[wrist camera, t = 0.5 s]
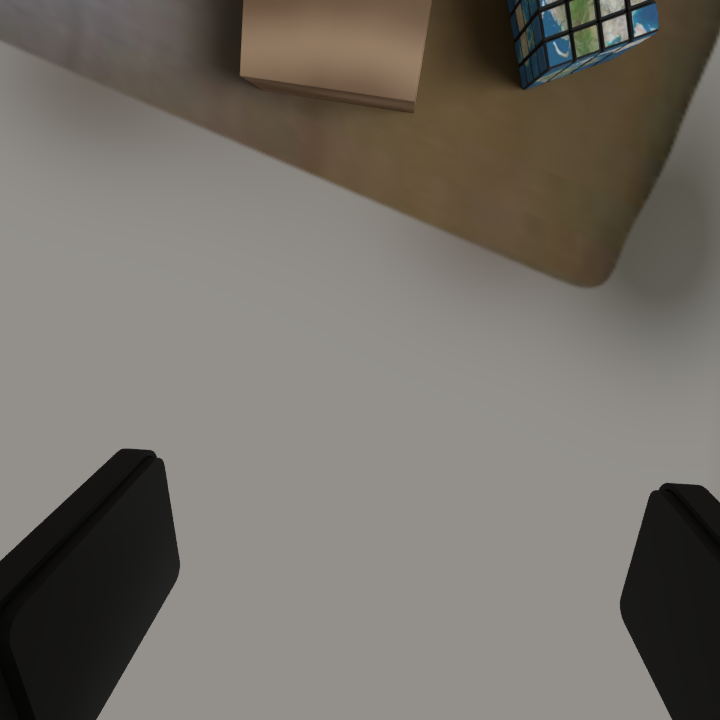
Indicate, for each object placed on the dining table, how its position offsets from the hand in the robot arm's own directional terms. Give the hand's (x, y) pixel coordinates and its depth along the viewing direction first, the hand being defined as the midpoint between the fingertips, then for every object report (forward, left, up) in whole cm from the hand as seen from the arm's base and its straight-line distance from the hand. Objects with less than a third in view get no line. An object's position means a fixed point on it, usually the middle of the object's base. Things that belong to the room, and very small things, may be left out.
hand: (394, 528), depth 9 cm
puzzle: (-17, +7, -30) cm, 36 cm away
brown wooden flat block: (-16, -7, -30) cm, 35 cm away
